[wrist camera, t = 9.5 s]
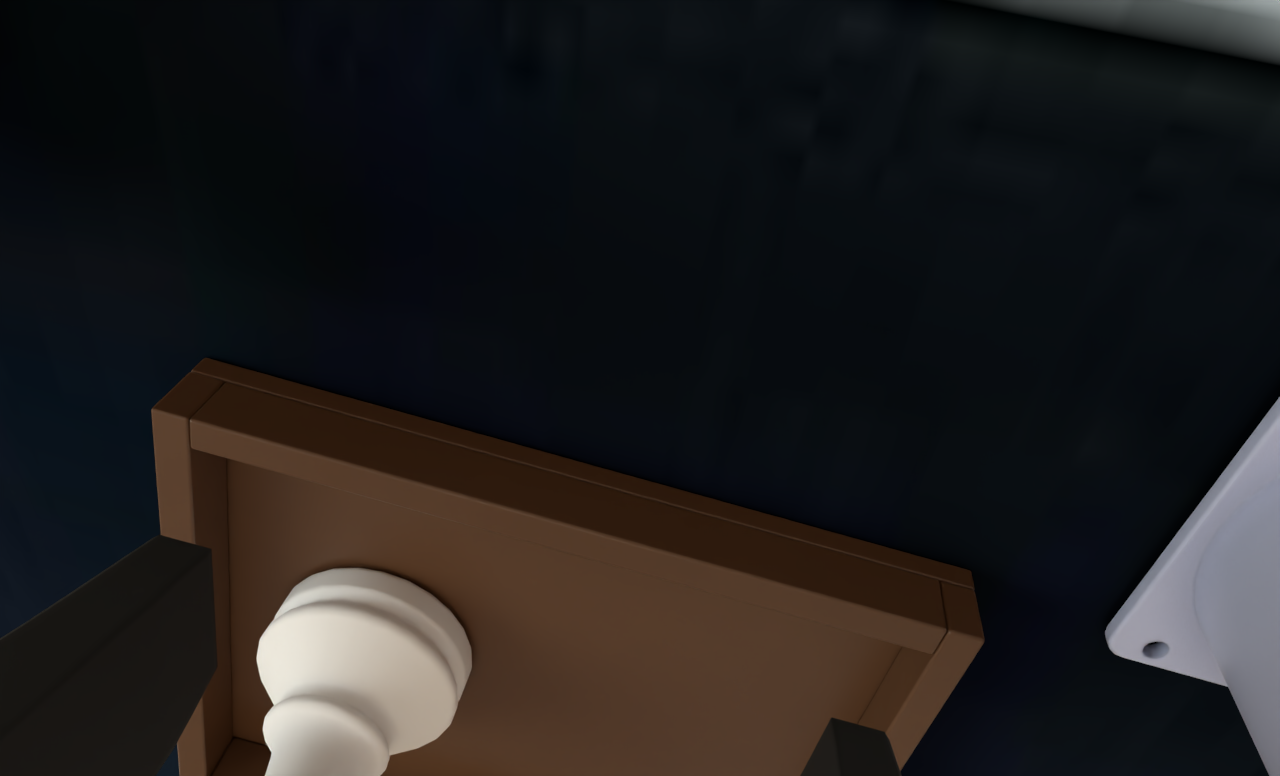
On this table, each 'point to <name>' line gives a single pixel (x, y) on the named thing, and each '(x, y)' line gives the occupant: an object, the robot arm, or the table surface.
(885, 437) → the table surface
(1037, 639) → the table surface
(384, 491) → the tray
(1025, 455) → the table surface
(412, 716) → the chess pawn
